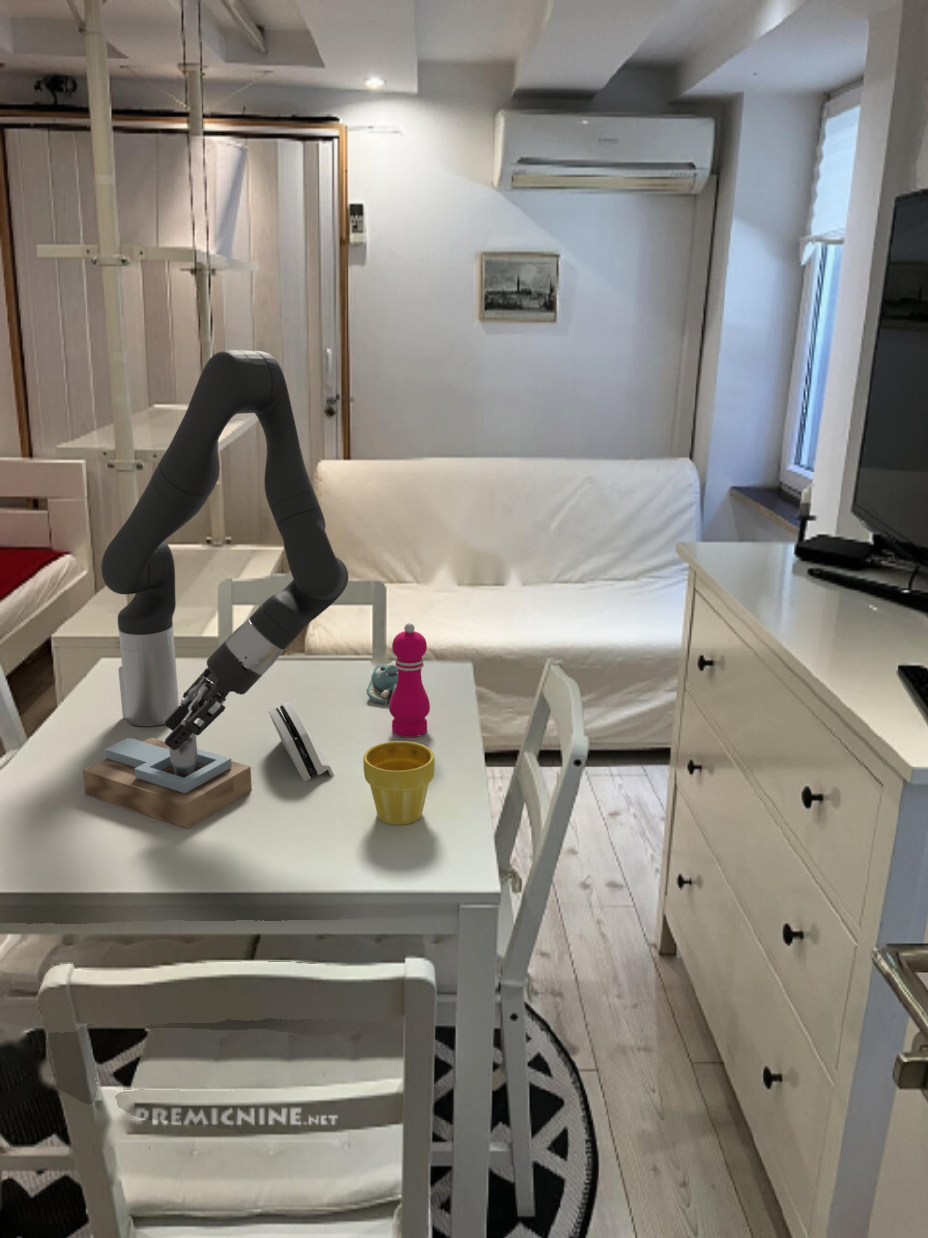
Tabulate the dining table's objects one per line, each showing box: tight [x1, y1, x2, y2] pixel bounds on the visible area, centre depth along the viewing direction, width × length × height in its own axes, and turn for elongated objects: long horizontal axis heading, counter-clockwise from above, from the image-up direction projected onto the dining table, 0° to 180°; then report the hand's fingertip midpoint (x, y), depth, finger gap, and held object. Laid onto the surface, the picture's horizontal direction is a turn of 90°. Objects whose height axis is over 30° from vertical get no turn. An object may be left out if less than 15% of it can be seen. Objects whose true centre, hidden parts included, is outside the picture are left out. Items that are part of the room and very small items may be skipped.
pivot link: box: [104, 737, 232, 793], centre depth 154 cm, size 19×10×2 cm, turn 61°
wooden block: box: [82, 737, 253, 830], centre depth 155 cm, size 21×14×4 cm, turn 61°
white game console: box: [268, 701, 334, 782], centre depth 166 cm, size 17×5×10 cm, turn 22°
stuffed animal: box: [366, 662, 398, 704], centre depth 193 cm, size 11×7×12 cm
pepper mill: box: [388, 622, 431, 738], centre depth 176 cm, size 7×7×20 cm
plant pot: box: [362, 740, 436, 826], centre depth 148 cm, size 10×10×10 cm
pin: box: [169, 733, 198, 778], centre depth 153 cm, size 4×4×10 cm
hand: (169, 736), depth 150 cm, fingers open, 6 cm apart
